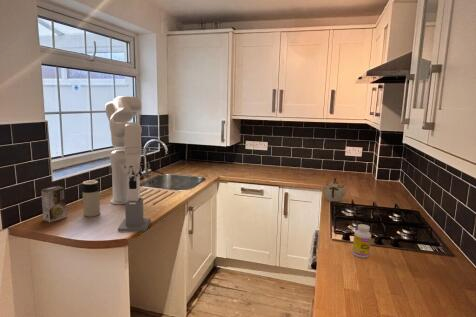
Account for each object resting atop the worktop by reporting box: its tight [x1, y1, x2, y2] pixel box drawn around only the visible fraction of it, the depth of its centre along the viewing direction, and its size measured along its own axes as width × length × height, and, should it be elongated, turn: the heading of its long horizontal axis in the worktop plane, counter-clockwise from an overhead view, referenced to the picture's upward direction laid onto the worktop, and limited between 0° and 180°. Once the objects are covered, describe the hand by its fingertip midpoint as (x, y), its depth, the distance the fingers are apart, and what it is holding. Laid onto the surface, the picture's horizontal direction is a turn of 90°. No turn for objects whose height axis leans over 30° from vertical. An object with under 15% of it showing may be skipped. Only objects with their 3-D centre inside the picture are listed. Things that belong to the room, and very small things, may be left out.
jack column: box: [128, 173, 141, 202], centre depth 154 cm, size 5×5×20 cm
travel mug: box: [81, 179, 101, 218], centre depth 169 cm, size 8×8×18 cm
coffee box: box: [40, 185, 68, 223], centre depth 161 cm, size 9×6×16 cm
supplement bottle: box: [352, 223, 372, 259], centre depth 134 cm, size 7×7×13 cm
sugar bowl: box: [322, 177, 347, 202], centre depth 209 cm, size 20×15×15 cm
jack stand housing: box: [117, 197, 151, 233], centre depth 155 cm, size 13×13×14 cm
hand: (133, 186), depth 153 cm, fingers closed on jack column, 4 cm apart
